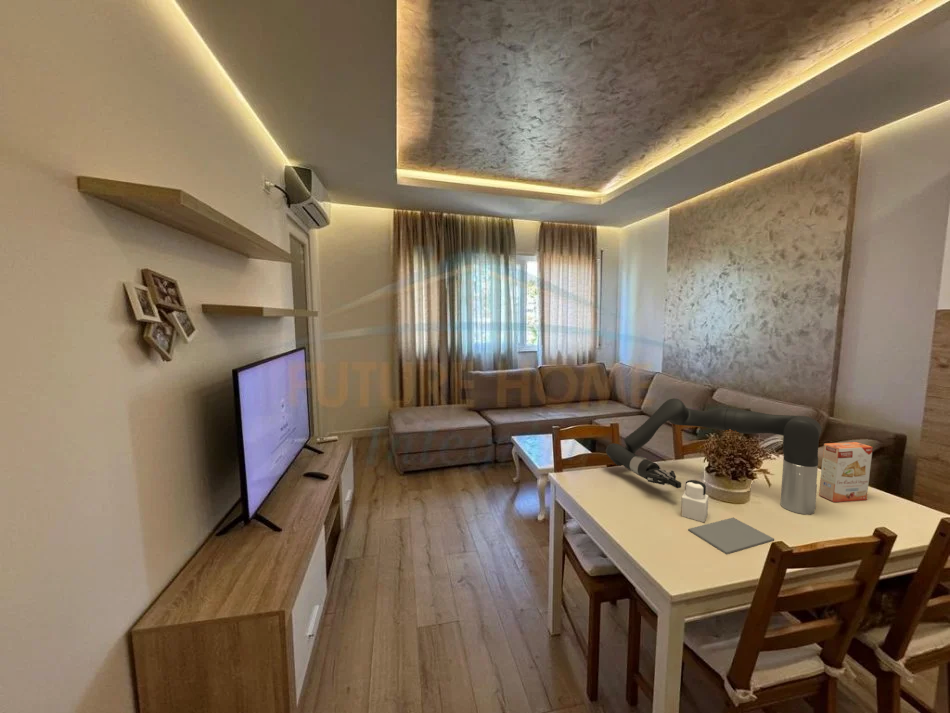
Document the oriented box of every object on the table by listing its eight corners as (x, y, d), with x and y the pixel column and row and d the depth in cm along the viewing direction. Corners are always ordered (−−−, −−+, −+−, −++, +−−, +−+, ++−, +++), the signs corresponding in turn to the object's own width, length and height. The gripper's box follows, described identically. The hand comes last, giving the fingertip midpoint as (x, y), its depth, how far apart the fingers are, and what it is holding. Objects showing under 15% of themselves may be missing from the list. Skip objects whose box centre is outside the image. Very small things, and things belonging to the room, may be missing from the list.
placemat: (733, 519, 126) (733, 517, 126) (774, 540, 114) (774, 538, 114) (688, 530, 120) (688, 528, 120) (726, 554, 108) (726, 552, 108)
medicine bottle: (684, 507, 134) (686, 476, 133) (707, 514, 130) (709, 481, 129) (680, 516, 129) (682, 483, 128) (704, 523, 124) (706, 489, 123)
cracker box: (834, 503, 135) (839, 448, 133) (818, 495, 141) (822, 442, 139) (868, 500, 137) (873, 446, 135) (850, 493, 143) (855, 440, 141)
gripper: (631, 461, 149) (665, 478, 132) (657, 456, 153) (693, 473, 136) (630, 479, 149) (665, 498, 133) (656, 474, 154) (693, 492, 137)
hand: (679, 485), depth 135 cm, fingers closed
